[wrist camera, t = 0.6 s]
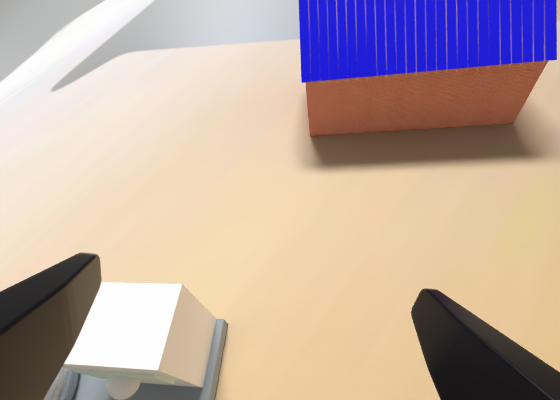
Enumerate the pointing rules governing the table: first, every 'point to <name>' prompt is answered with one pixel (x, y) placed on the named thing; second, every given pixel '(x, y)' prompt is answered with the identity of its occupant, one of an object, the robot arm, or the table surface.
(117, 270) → the table surface
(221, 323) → the stand
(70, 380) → the crank handle
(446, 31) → the house
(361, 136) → the table surface
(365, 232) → the table surface
